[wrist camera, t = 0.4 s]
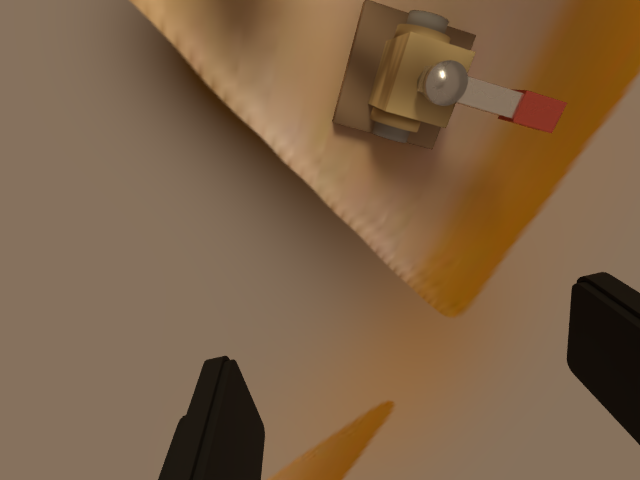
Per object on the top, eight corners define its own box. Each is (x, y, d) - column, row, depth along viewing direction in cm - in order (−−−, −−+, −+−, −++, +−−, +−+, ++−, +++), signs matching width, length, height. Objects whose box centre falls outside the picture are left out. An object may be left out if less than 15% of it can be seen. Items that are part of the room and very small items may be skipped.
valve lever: (406, 96, 26) (420, 99, 23) (419, 57, 24) (435, 55, 22) (527, 131, 27) (555, 138, 24) (544, 96, 26) (575, 98, 23)
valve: (363, 2, 31) (385, -24, 23) (468, 37, 32) (525, 24, 24) (332, 120, 35) (342, 135, 27) (427, 146, 36) (464, 167, 28)
